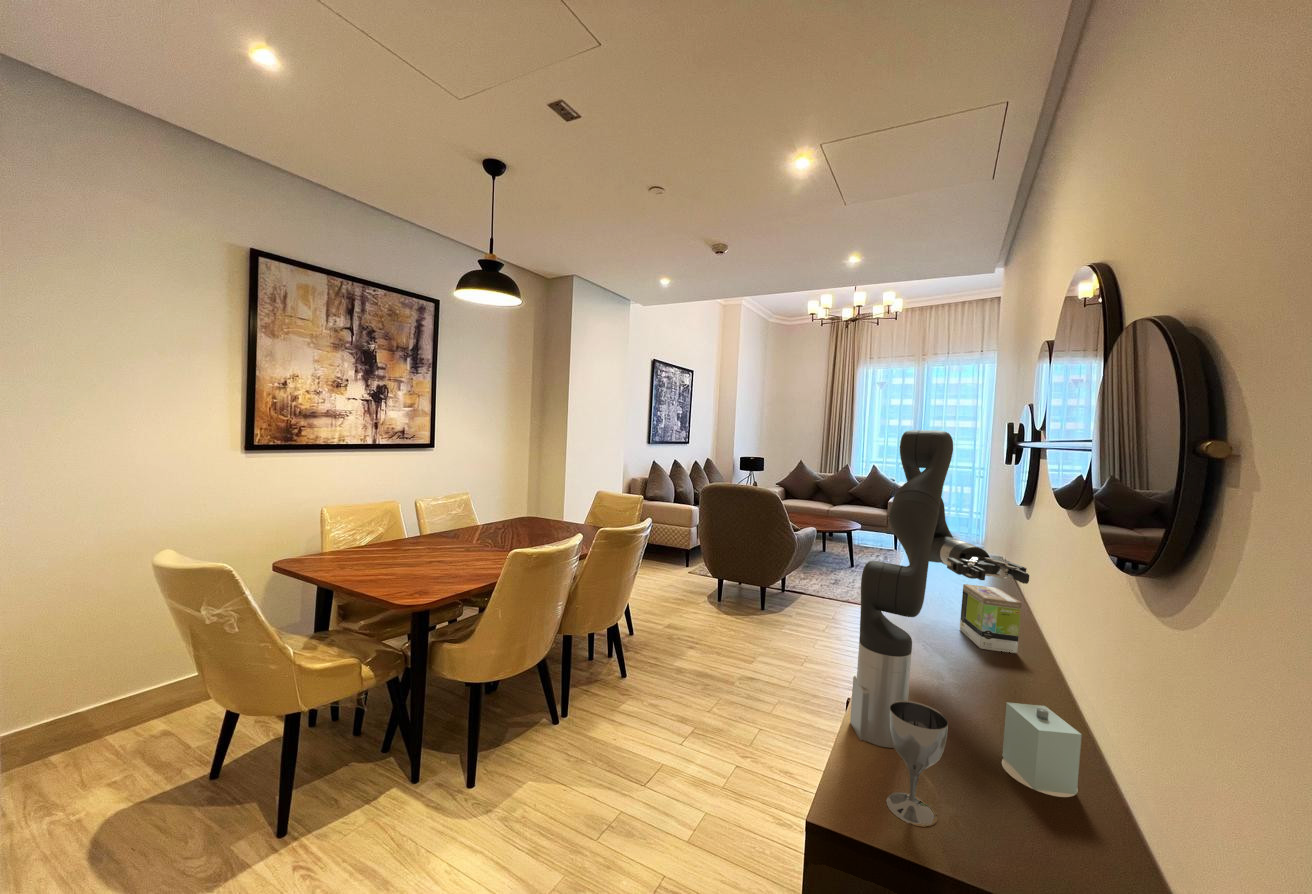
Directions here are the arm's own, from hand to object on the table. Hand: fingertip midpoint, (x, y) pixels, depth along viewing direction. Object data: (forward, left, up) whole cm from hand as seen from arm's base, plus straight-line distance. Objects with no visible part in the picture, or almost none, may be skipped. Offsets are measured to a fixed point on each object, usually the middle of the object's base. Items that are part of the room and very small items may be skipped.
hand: (1005, 577), depth 104 cm
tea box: (+23, +45, -30) cm, 59 cm away
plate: (-4, -19, -30) cm, 36 cm away
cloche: (-4, -19, -29) cm, 35 cm away
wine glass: (-29, -30, -30) cm, 52 cm away
